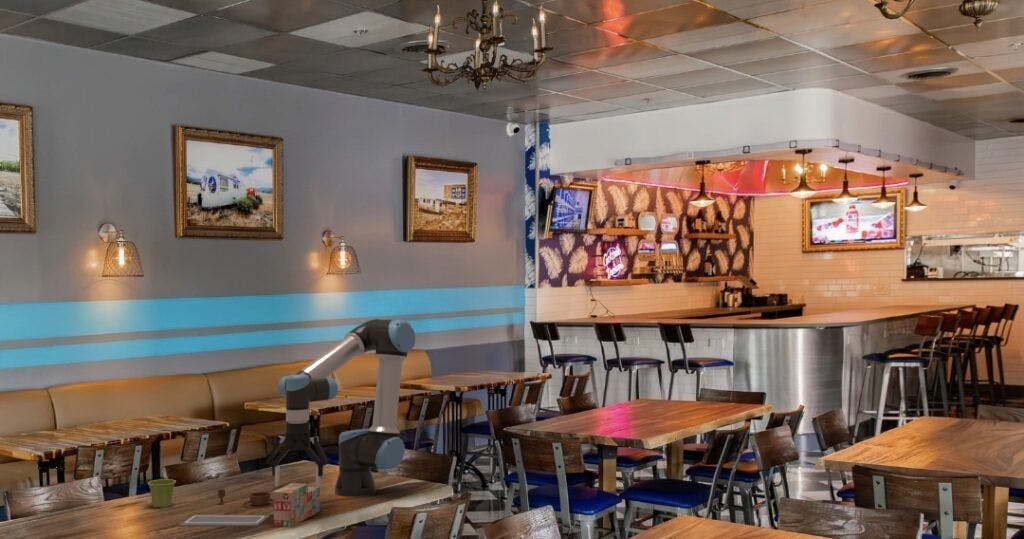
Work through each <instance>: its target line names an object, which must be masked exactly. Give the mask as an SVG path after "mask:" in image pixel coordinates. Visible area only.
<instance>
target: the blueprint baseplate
mask: <svg viewBox="0 0 1024 539" xmlns="http://www.w3.org/2000/svg"><path fill="white" fill-rule="evenodd" d="M269 517H271V515H270V514H193V515H192V516H190V517H188V518H187V519H185V520H184V521H183V522H181V523H179V524H178V527H183V528H184V527H186V526H187V527H258V526H259V525H261V524H262V523H263V522H265V520H267V519H269ZM260 523H261V524H260Z"/></svg>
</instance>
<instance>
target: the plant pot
mask: <svg viewBox="0 0 1024 539" xmlns="http://www.w3.org/2000/svg"><path fill="white" fill-rule="evenodd" d="M176 483H177V480H175V479H171V478H170V479H169V478H168V479H167V478H165V479H164V478H161V479H155V480H150V481H148V482H147V485H148V487H149V489H150V496H151V502H152V507H153V508H154V509H155V508H156V509H157V508H161V509H162V508H168V507H170V506H172V502H173V501H172V499H173V495H174V494H173V492H174V487H175V484H176Z"/></svg>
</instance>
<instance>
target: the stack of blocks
mask: <svg viewBox="0 0 1024 539" xmlns="http://www.w3.org/2000/svg"><path fill="white" fill-rule="evenodd" d="M272 494H273V499H272V500H274V501H273V502H272V505H273V506H272V509H273V526H274V527H290V528H291V527H293V526H294V525H297V524H299V523H301V522H304V520H306V519H309V517H312V516H314V515H317V513H319V512H321V487H320V486H319V487H316V486H308V483H295V482H292V483H289V484H287V485H285V486H283V487H281V488H278V489H276V490H274V491H273V492H272Z"/></svg>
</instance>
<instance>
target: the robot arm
mask: <svg viewBox="0 0 1024 539" xmlns="http://www.w3.org/2000/svg"><path fill="white" fill-rule="evenodd" d="M415 344H416V333H415V330H414V328H413V327H412V325H411V324H410V323H409V322H408V321H406V320H401V319H394V318H393V319H379V318H377V319H375V318H374V319H370V320H368V321H365V322H363V323H362V324H358V326H356V327H355V328H353V329H351V330H350V331H349V332H347V333H346V334H345V335H344V336H343V339H342V340H341V341H339V342H338V343H336V344H335V345H334V346H332V347H331V348H329V349H328V350H327V351H325V352H324V353H323V354H321V355H320V356H319V357H317V358H316V359H315V360H313V361H311V362H310V363H309V364H308V365H306V366H305V367H304V368H302V369H301V370H299V371H298V372H296V373H295V374H291V375H286V376H282V378H280V380H279V382H278V385H277V390H278V393H279V394H280V395H281V396H282V397H284V398H285V406H286V407H285V421H286V423H285V436H282V435H278V436H277V437H276V439H275V444H274V445H273V448H272V450H271V452H270V454H269V456H268V458H267V460H266V465H270V466H271V467H272V468H271V469H272V470H271V471H272V472H271V475H272V477H274V487H277V488H278V487H279V486H280V484H281V483H280V481H281V480H280V479H281V478H280V477H281V475H280V474H281V471H280V469H281V468H280V466H281V465H279V463H280V462H281V461H282V460H283V458H284V457H285V456H286V454H288V452H290V450H291V451H304V452H306V453H307V455H308V456H309V458H311V460H313V462H314V463H315V464H316V466H315V487H320V486H321V477H323V476H324V466H327V465H328V464H329V459H328V457H327V455H326V453H325V451H324V449H323V448H322V446H321V443H320V437H319V436H318V435H315V436H313V437H312V436H310V422H309V420H310V403H315V402H323V401H329V400H334V399H335V398H336V397H337V394H338V393H339V392H338V391H339V386H338V382H336V380H335V378H332V377H329V376H331V375H332V374H333V373H335V372H337V370H339V369H340V368H342V367H343V366H344V365H345V364H347V363H348V362H349V361H351V360H352V359H353V358H355V357H361V356H362V355H364V354H366V353H367V352H371V351H375V356H376V357H377V360H378V366H377V367H378V368H377V378H376V388H375V398H374V408H373V417H372V425H371V426H370V427H369V428H362V429H354V430H353V429H352V430H348V431H347V430H346V431H343V432H341V433H340V434H339V435H338V436H339V437H338V466H339V467H338V469H339V471H338V475H337V479H336V482H335V486H334V494H335V495H337V496H339V497H340V496H341V497H362V496H367V495H368V496H369V495H372V494H374V493H376V492H377V486H376V483H375V479H374V477H373V476H374V475H373V473H372V468H375V469H379V470H392V469H394V468H396V467H398V465H399V464H400V463H401V462H402V461H403V459H404V457H405V456H404V455H405V450H406V448H405V447H406V445H405V444H404V441H403V439H401V438H400V434H401V433H400V431H399V429H398V428H397V422H398V421H397V419H398V411H399V401H400V391H401V378H402V368H403V362H404V361H405V360H406V359H407V358H408V353H409V352H411V350H413V348H414V346H415ZM284 442H285V444H287V445H286V446H285V448H283V450H282V451H281V452H280V453H279V455H278V456H277V453H278V451H279V449H280V447H281V445H282V443H284ZM310 442H311V443H312V444H313V445H314V448H315V450H316V451H317V454H318V455H317V454H316V452H315V451H314V450H313V449H312V447H311V446H310V444H309V443H310ZM276 456H277V457H276ZM275 457H276V458H275ZM274 459H275V460H274Z"/></svg>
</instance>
